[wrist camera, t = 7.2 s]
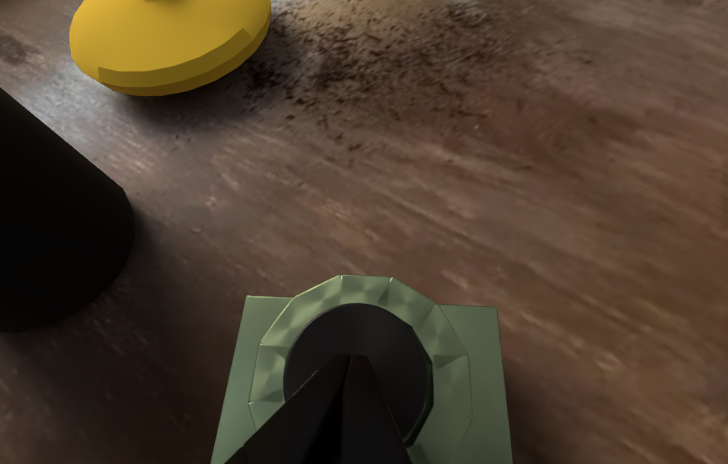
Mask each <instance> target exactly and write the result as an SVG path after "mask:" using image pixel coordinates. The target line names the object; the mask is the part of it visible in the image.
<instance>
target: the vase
mask: <svg viewBox="0 0 728 464" xmlns="http://www.w3.org/2000/svg"><path fill="white" fill-rule="evenodd" d="M270 20H271V2H270V0H84V1H83V3H82V4H81V6H80V7H79V9H78V10H77V12H76V13H75V15H74V17H73V21H72V24H71V28H70V48H71V54H72V59H73V60H74V61H75V63H76V64H77V65H78V67H79V68H80V70H81V71H82V72H83V73H85V74H87V75H88V76H90V77H91V78H93V79H95V80H96V81H98V82H100V83H101V84H103V85H105V86H106V87H108V88H110V89H112V90H113V91H117V92H121V93H125V94H130V95H134V96H164V95H169V94H174V93H179V92H185V91H189V90H192V89H195V88H197V87H200V86H203V85H205V84H208V83H211V82H213V81H215V80H217V79H219V78H221V77H222V76H224V75H226V74H227V73H229V72H231V71H232V70H234V69H236V68H237V67H239V66H240V65H241V64H242V63H243V62H244V61H245V60H246V59H248V58H249V57H250V56H251V55H252V54H253V53H254V52H255V51H256V50H257V48H258V47H259V45H260V44H261V42H262V41H263V39H264V38H265V36H266V34H267V30H268V27H269V24H270Z"/></svg>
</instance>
